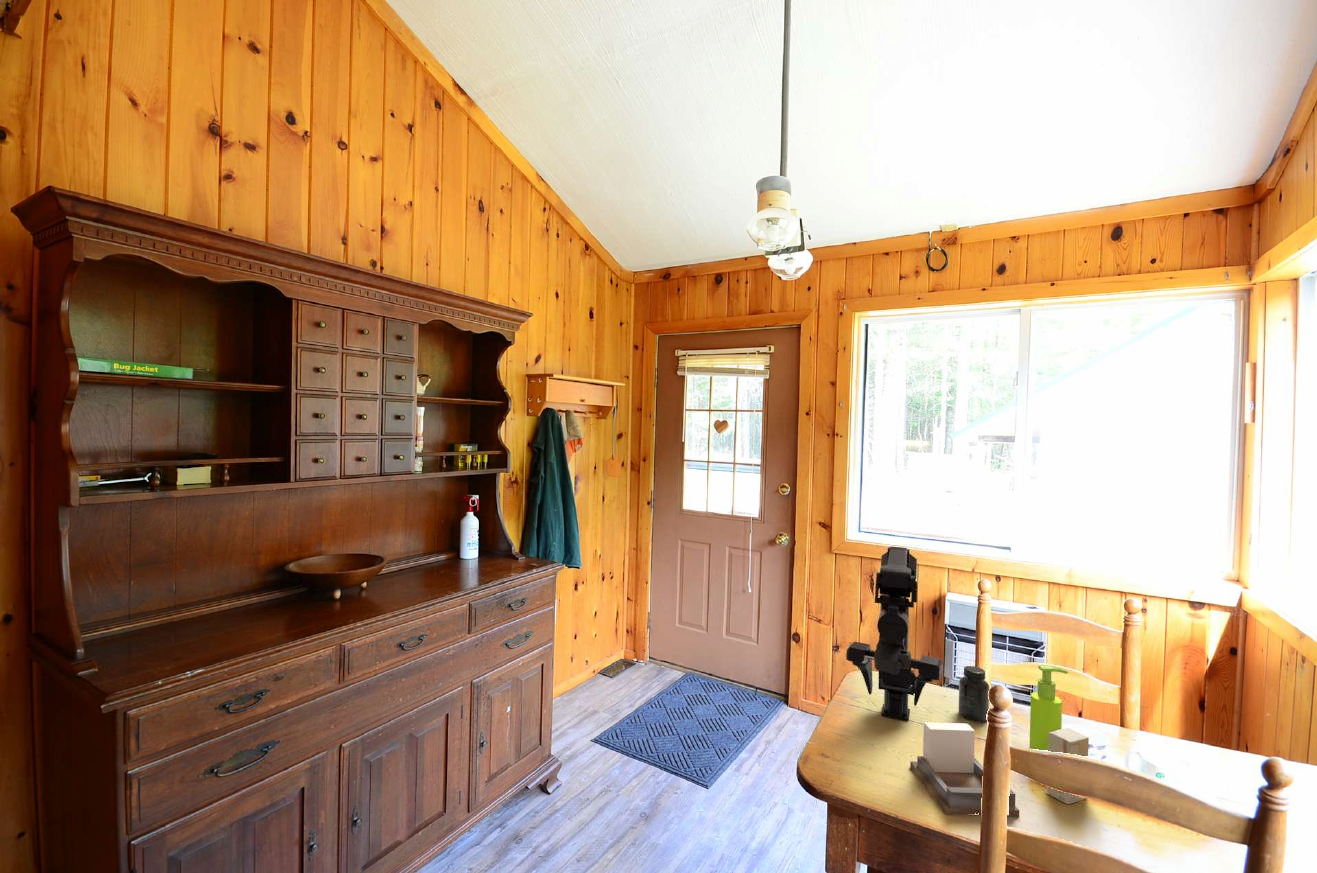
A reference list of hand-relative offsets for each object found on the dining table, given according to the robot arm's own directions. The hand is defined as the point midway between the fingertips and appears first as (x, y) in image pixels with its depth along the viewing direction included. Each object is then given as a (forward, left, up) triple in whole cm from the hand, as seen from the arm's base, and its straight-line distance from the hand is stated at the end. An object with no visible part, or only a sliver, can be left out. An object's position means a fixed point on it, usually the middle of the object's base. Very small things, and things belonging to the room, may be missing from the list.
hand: (892, 699), depth 127 cm
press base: (+3, +13, -14) cm, 20 cm away
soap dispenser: (-20, +31, -14) cm, 40 cm away
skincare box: (-4, +32, -14) cm, 36 cm away
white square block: (-2, +11, -13) cm, 17 cm away
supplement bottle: (-34, +17, -14) cm, 41 cm away
